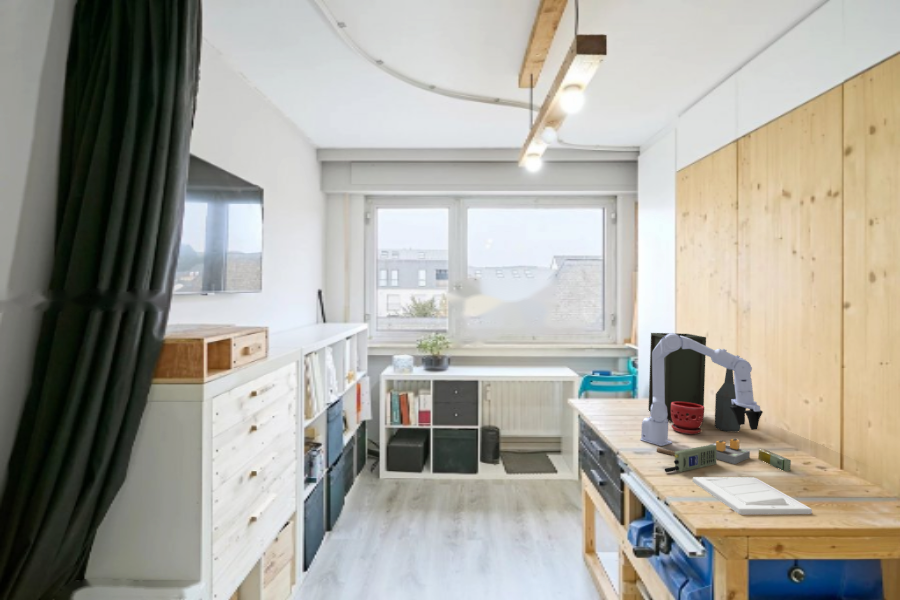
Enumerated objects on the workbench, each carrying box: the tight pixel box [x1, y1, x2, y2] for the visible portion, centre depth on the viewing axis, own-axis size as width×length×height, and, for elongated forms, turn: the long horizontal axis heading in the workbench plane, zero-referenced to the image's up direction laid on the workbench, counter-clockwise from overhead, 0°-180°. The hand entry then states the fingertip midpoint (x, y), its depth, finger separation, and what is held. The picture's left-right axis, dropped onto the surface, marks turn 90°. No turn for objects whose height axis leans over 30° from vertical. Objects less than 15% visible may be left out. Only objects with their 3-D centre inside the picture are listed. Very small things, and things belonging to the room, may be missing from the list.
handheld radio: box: [664, 444, 717, 473], centre depth 166 cm, size 7×3×25 cm
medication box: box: [757, 448, 792, 472], centre depth 172 cm, size 12×3×4 cm, turn 7°
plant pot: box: [671, 402, 705, 435], centre depth 212 cm, size 13×13×12 cm
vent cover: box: [692, 476, 813, 515], centre depth 144 cm, size 23×3×21 cm
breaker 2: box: [729, 437, 741, 450], centre depth 180 cm, size 2×2×3 cm
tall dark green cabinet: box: [648, 332, 707, 422], centre depth 237 cm, size 18×18×40 cm
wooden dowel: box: [656, 446, 676, 457], centre depth 180 cm, size 10×2×2 cm
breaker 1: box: [715, 440, 727, 452], centre depth 178 cm, size 2×2×3 cm
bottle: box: [714, 368, 742, 433], centre depth 217 cm, size 10×10×30 cm
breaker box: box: [709, 442, 751, 465], centre depth 180 cm, size 12×12×3 cm
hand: (747, 426), depth 182 cm, fingers open, 7 cm apart
